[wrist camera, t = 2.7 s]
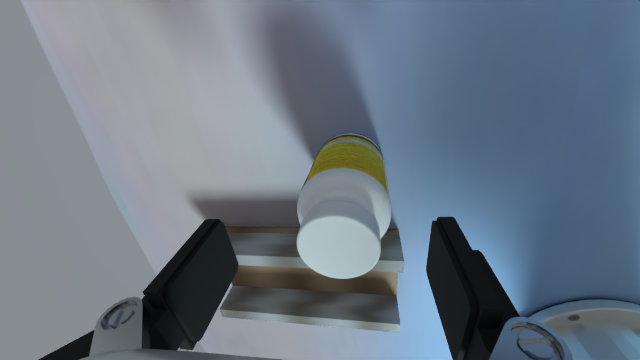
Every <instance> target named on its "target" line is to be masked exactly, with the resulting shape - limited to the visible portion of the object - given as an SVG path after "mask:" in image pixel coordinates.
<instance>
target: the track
mask: <svg viewBox="0 0 640 360" xmlns="http://www.w3.org/2000/svg"><path fill="white" fill-rule="evenodd" d="M225 228H226V230H227V233H228V236H229V239H230V241H231V244H232V247H233V250H234V252H235V255H236V258H237V261H238V265H239V266H238V270H237V272H236V274H235V276H234V278H233V280H232V284H233V286H232V288H231V290H230V292H229V293H228V295H227V297H226V299H225V301H224V302H223V304H222V306H221V308H220V312H221V314H222V316H223V317H230V318H241V319H252V320H264V321H275V322H286V323H297V324H308V325H320V326H331V327H342V328H353V329H364V330H376V331H387V332H398V333H400V319H399V311H398V304H397V296H396V294H397V273H398V272H401V273H403V271H404V258H403V253H402V247H401V242H400V237H399V231H398V229H387V231H386V233H385V234H384V236H383V237H382V238H381V239H380V240H381V253H380V257H379V260H378V262H377V263H376V265H375V266H374V267H373V268H372V269H371V270H370V271H368V272H367V273H365V274H363V275H361V276H358V277H354V278H348V279H339V278H331V277H328V276H325V275H322V274H320V273H318V272H316V271H314V270H313V269H311V268H310V267H309V266H308V265H307V264H306V263H305V262H304V261H303V260H302V258H301V257H300V255H299V252H298V250H297V235H298V232H299V229H300V228H274V227H225Z"/></svg>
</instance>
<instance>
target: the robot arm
mask: <svg viewBox="0 0 640 360" xmlns="http://www.w3.org/2000/svg"><path fill="white" fill-rule="evenodd" d="M238 266H239V265H238V261H237V258H236V255H235V252H234V250H233V247H232V244H231V241H230V239H229V236H228V233H227V230H226V228H225V225H224V223H223V222H221V221H220V220H219V219H206V220H205V221H204V222H203V223H202V224H201V225H200V226H199V228H198V229H197V230H196V231H195V232H194V233H193V234H192V236H191V237H190V238H189V239H188V240H187V241H186V243H185V244H184V245H183V246H182V247H181V248H180V250H179V251H178V252H177V253H176V254H175V255H174V256H173V258H172V259H171V260H170V261H169V262H168V263H167V265H166V266H165V267H164V268H163V269H162V270H161V272H160V273H159V274H158V275H157V276H156V277H155V279H154V280H153V281H152V282H151V283H150V284H149V285H148V287H147V288H146V289H145V290H144V291H143V293H144V295H145V296H144V297H143V299H142V300H141V299H140V298H138V297H131V298H126V299H124V300H121V301H119V302H117V303H116V304H114V305H113V306H111V307H110V308H109V309H107V310H106V311H105V312H104V313H103V314H102V315H101V317H100V318H99V319H98V321H97V324H96V326H95V330H93V331H91V332H90V333H88V334H86V335H84V336H82V337H80V338H78V339H76V340H74V341H73V342H71V343H69V344H67V345H65V346H63V347H61V348H59V349H58V350H56V351H54V352H52V353H50V354H48V355H46V356H44V357H43V358H41V359H39V360H281V359H270V358H259V357H248V356H236V355H224V354H213V353H200V352H188V351H177V350H178V348H179V347H180V349H187V350H193V348H194V346H195V344H196V343H197V341H200V340H201V338H202V337H203V335H204V333H205V331H206V329H207V327H208V325H209V323H210V322H211V320H212V318H213V316H214V314H215V312H216V310H217V308H218V306H219V304H220V303H221V301H222V299H223V297H224V295H225V293H226V291H227V289H228V287H229V286H230V284H231V282H232V280H233V278H234V276H235V274H236V272H237V270H238ZM426 270H427V276H428V280H429V283H430V286H431V289H432V293H433V296H434V299H435V303H436V306H437V309H438V313H439V316H440V319H441V322H442V326H443V329H444V332H445V336H446V339H447V342H448V345H449V349H450V352H451V355H452V358H453V360H640V305H637V304H634V303H629V302H623V301H617V300H604V299H595V300H580V301H574V302H567V303H563V304H559V305H555V306H552V307H549V308H547V309H544V310H541V311H539V312H537V313H535V314H533V315H532V316H530V317H528V318H526V317H520V316H519V314H518V312H517V311H516V309H515V307H514V306H513V304H512V302H511V301H510V299H509V297H508V296H507V294H506V292H505V291H504V289H503V287H502V286H501V284H500V282H499V281H498V279H497V277H496V276H495V274H494V272H493V271H492V269H491V267H490V266H489V264H488V262H487V261H486V259H485V257H484V255H483V254H482V253H481V252H480V251H479V250H472V249H471V247H470V245H469V243H468V241H467V240H466V238H465V236H464V234H463V232H462V231H461V229H460V227H459V225H458V224H457V222H456V220H455V218H454V217H438V218H437V221H433V222H432V227H431V235H430V243H429V251H428V259H427V267H426Z"/></svg>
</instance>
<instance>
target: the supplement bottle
mask: <svg viewBox="0 0 640 360" xmlns="http://www.w3.org/2000/svg"><path fill="white" fill-rule="evenodd" d="M297 215H298V219H299V222H300V225H301V226H300V229H299V232H298V235H297V250H298V252H299V255H300V257H301V258H302V260H303V261H304V262H305V263H306V264H307V265H308V266H309V267H310V268H311V269H313V270H314V271H316V272H318V273H320V274H322V275H325V276H328V277H331V278H339V279H348V278H354V277H358V276H361V275H363V274H365V273H367V272H368V271H370V270H371V269H372V268H373V267H374V266H375V265H376V263H377V262H378V260H379V257H380V253H381V240H380V239H381V238H382V237H383V236H384V234H385V233H386V231H387V229H388V227H389V224H390V221H391V204H390V197H389V191H388V184H387V177H386V170H385V163H384V158H383V155H382V153H381V151H380V149H379V147H378V146H377V145H376V144H375V143H374V142H373V141H372V140H370V139H369V138H367V137H365V136H363V135H359V134H354V133H346V134H341V135H338V136H335V137H333V138H331V139H330V140H328V141H327V142H326V143H325V144H324V145H323V146H322V148H321V149H320V151H319V153H318V155H317V157H316V159H315V161H314V163H313V165H312V168H311V170H310V172H309V174H308V177H307V179H306V181H305V183H304V185H303V187H302V189H301V192H300V195H299V198H298V202H297Z"/></svg>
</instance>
